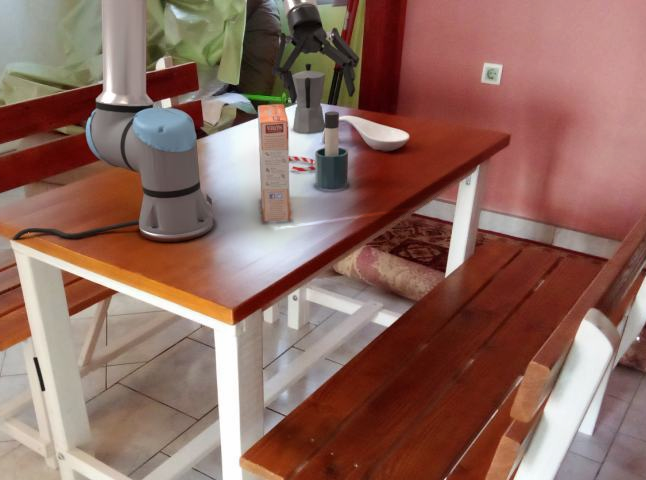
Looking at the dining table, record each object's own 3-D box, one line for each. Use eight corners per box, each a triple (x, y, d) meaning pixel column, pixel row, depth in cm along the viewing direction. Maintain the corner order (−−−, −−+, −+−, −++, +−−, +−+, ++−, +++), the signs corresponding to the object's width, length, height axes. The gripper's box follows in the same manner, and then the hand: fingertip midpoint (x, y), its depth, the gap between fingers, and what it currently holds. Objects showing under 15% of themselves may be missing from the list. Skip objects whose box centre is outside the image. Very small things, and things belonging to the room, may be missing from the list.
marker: (327, 186, 163) (327, 115, 155) (323, 182, 166) (322, 112, 157) (340, 184, 164) (340, 113, 155) (335, 180, 166) (336, 110, 158)
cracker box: (291, 221, 148) (289, 119, 137) (262, 223, 148) (257, 121, 137) (287, 198, 160) (285, 102, 149) (261, 199, 160) (256, 104, 149)
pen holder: (321, 193, 162) (321, 158, 157) (311, 183, 168) (311, 149, 163) (351, 189, 163) (352, 154, 159) (341, 179, 169) (341, 145, 165)
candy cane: (282, 151, 186) (326, 161, 176) (282, 156, 186) (326, 166, 177) (261, 158, 181) (305, 170, 172) (261, 163, 182) (305, 175, 173)
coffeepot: (293, 123, 213) (292, 59, 203) (325, 122, 212) (325, 58, 202) (291, 138, 200) (289, 70, 190) (325, 137, 199) (325, 69, 189)
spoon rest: (415, 144, 188) (417, 117, 185) (398, 157, 180) (400, 129, 176) (334, 135, 200) (334, 109, 196) (314, 147, 191) (314, 120, 187)
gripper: (252, 9, 159) (272, 93, 155) (358, -1, 163) (380, 80, 159) (248, 31, 166) (267, 112, 162) (349, 21, 170) (371, 100, 166)
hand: (323, 96), depth 160 cm, fingers open, 13 cm apart
